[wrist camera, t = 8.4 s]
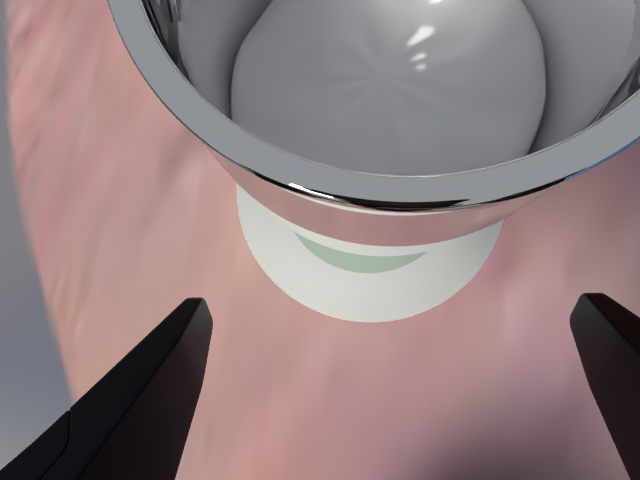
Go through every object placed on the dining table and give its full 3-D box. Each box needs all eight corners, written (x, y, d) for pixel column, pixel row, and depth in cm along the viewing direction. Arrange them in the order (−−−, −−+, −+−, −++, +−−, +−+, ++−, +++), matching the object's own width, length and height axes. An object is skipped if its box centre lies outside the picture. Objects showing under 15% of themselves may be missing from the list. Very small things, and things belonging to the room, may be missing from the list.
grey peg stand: (506, 318, 19) (555, 334, 14) (243, 320, 20) (209, 334, 15) (491, 61, 20) (532, -4, 15) (243, 77, 21) (210, 22, 16)
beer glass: (266, 200, 19) (-54, -65, 4) (362, 94, 19) (384, -544, 4) (373, 297, 18) (449, 404, 3) (473, 187, 18) (1002, -204, 3)
